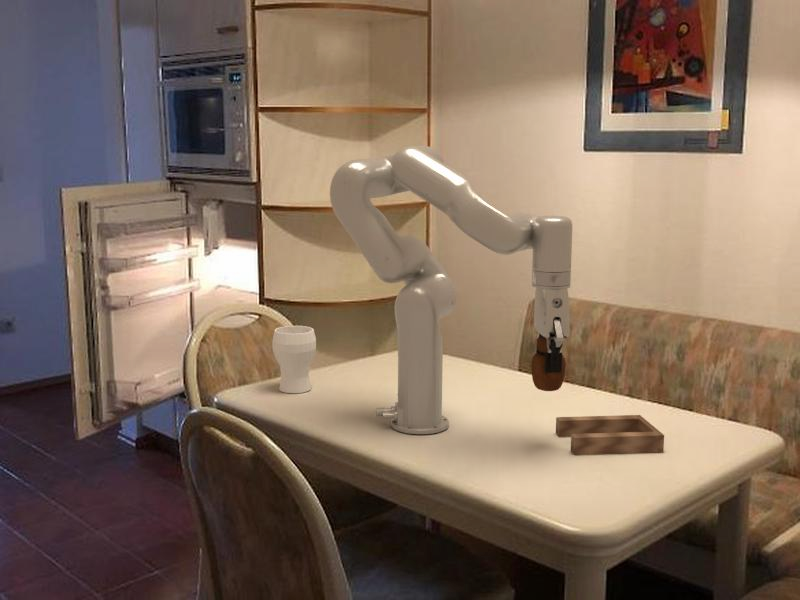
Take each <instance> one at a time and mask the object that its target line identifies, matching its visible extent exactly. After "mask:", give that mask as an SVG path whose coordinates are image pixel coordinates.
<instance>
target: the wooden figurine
mask: <svg viewBox="0 0 800 600" xmlns="http://www.w3.org/2000/svg"><path fill="white" fill-rule="evenodd" d="M549 335H550V337H555V334H549ZM552 342H553V341H551V345H552ZM536 344H537V349H538V351H539V352H538V353H536V352H535V353H534V355H533V356H532V359H531V362H530V363H531V366H530V367H531V378H532V382H533V384H534V387H535V388H536V389H538V390H539V391H544V392H555V391H558V390H559V389H561V388H562V385H563V384H564V379H565V375H566V367H567V366H566V365H567V364H566V363H567V362H566V358H565V356H564V355H563V354H562V370H561V372H559V373H546V372H545V352H547V342H546V338H545V337H544V336H542V335H541V334H540V336H539V337H538V339H537V338H536Z"/></svg>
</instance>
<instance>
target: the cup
mask: <svg viewBox="0 0 800 600" xmlns="http://www.w3.org/2000/svg"><path fill="white" fill-rule="evenodd" d="M315 333H316V332H315V330H314V328H313V327H311V326H305V325H285V326H281V327H279V326H278V327H277V328H275V329H274V332H273V336H272V352H273V354H274V357H275V360H276V361H277V364H278V366H279V371H280V381H279V388H278V389H279V391H280V392H282V393H286V394H301V393H307V392H309V391H310V390H311V389H312V387H311V386H312V385H311V379H310V375H309V373H310V366H311V363H312V362H313V359H314V356H315V353H316V349H317V337H316V334H315Z"/></svg>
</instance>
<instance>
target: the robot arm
mask: <svg viewBox="0 0 800 600" xmlns="http://www.w3.org/2000/svg"><path fill="white" fill-rule="evenodd" d="M409 191H410V192H411V193H412V194H414V195H416V196H417V197H419V198H420V199H422V200H423V201H425V202H427V203H428V204H430V205H432V207H434V208H436V209H438V210H439V211H441V212H442V213H444V214H445V215H446V216H447V217H448V219H449V220H450V221H451V222H452V223H454V225H455V226H456V227H458V229H460V230H461V232H463V233H464V234H465V235H466V236H468V237H469V238H471V239H472V240H474V241H476V242H477V243H479V244H480V245H482V246H483V247H484V248H487V249H488V250H490V251H492V252H494V253H496V254H500V255H504V256H506V255H507V256H508V255H513V254H516V253H518V252H521V251H525V250H532V262H531V264H532V266H531V267H532V270H531V286H532V287H533V288H535V295H534V310H533V325H534V329H535V331H536V334H537V335H536V340H537V339H538V337H539V336H540V334H541V335H542V336H544V337H545V338H546V342H547V352H545V372H546V373H559V372H561V370H562V355H563V343H564V339H568V338H569V337H570V300H569V299H570V296H569V290H568V289H570V288H571V282H572V281H571V275H572V254H573V251H572V249H573V221H572V220H571V219H570V218H569V217H567V216H564V215H536V214H529V213H525V212H524V213H523V212H514V213H511V214H510V213H509V214H505V213H504V212H502V211H500V210H499V209H497V208H495V207H493V206H492V205H491V204H489V203H488V202H486V201H485V200H484V199H482V198H481V197H480V196H479V195H478V194H477V193H476V191H475V190H474V187H473V183H472V182H471V180H470V179H469V177H468V176H466V175H464V174H462V173H460V172H459V171H457V170H456V169H454V168H453V167H451V166H449V165H447V164H446V163H445V161H444V159H443V156H442V155H441V154H440V152H439V151H438V150H436V149H435V148H433V147H432V146H427V145H409V146H404V147H402V148H400V149H398V150H397V151H396V152H395V153H394V154H392V155H388V156H383V157H378V158H361V159H360V158H359V159H353V160H350V161H349V160H348V161H347V162H345V163H343V164H342V165H340V167H338V168H337V170H336V171H335V172H334V175H333V177H332V180H331V183H330V186H329V197H330V198H329V200H330V204H331V207H332V210H333V212H334V213H333V214H335V216H336V219H337V220H338V221H339V222H340V224H341V225H342V227H343V228H344V230H345V231H346V232H347V233H348V235H349V236H350V238H351V240H352V241H353V242H354V243H355V246H356V247H357V249H358V250H359V251H360V253H361V254H362V256H363V257H364V259H365V261H366V262H367V263H368V265H369V267H370V268H371V269H372V270H373V272H374V274H375V275H376V277H378V278H379V280H380V281H382V282H384V283H386V284H397V283H401V282H403V283H404V284H405V286H403V287H402V288H401V289H400V291H398V293H397V295H396V298H395V301H394V318H395V324H396V332H397V361H398V362H397V369H398V370H397V402H396V401H395V402H394V405H391V406H390V407H376V409H375V413H376V415H375V416H376V417H377V418H378V417H382V419H383V420H387V419H390V427H391V428H392V429H393V430H395V431H397V432H400V433H405V434H411V435H431V434H438V433H441V432H443V431H445V430H447V429H448V428H449V426H450V420H449V419H448V418H447V417H446V416H444V415H443V414H442V413H443V357H444V356H443V355H444V354H443V350H444V349H443V345H444V344H443V335H442V330H441V324H440V320H441V319H444V318H445V317H447V316H448V315H450V314H451V313H452V312H453V311H454V310H455V308H456V306H457V303H458V291H457V288H456V286H455V284H454V282H453V280H452V279H451V277H450V276H449V274H448V273H447V272H446V270H445V268H444V267H443V266H442V264H441V263H440V262H439V260H438V259H437V257H436V256H435V254H434V253H433V252H432V250H431V249H430V248H429V247H428V245H427V244H426V243H425V242H424V241H423V240H422V239H420V238H418V237H417V236H415V235H414V236H413V235H409V234H408V235H407V234H406V235H405V234H404V235H401V236H400V235H399V234H398V233H397V231H396V230H395V229H394V227H393V226H392V224H390V222H389V220H388V218H387V217H386V216H385V215H384V214H383V212H381V211H380V210H379V208H377V206H376V205H375V204H374V203H373V202H372V199H377V198H384V197H388V196H392V195H397V194H401V193H405V192H409ZM549 334H555V337H550V335H549ZM551 341H553V342H552V345H551ZM535 347H536V348H535V351H536V352H535V354H536V353H538V352H539V351H538V349H537V343H536V345H535Z"/></svg>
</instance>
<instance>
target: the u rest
mask: <svg viewBox="0 0 800 600" xmlns="http://www.w3.org/2000/svg"><path fill="white" fill-rule="evenodd" d="M555 434H556V435H557V437H558V438H564V437H565V438H567V437H570V452H571V453H572V454H573V456H580V455H582V456H583V455H585V456H586V455H612V454H613V455H616V454H620V455H621V454H645V453H664V445H665V434H664V433H662V432H661V431H660V430H659V429H657V427H655V426H654V425H653V424H651V423H650V422H649V421H648V420H647V419H645V417H643V416H642V415H640V414H631V415H630V414H627V415H626V414H625V415H623V414H622V415H589V416H588V415H586V416H556V417H555Z"/></svg>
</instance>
